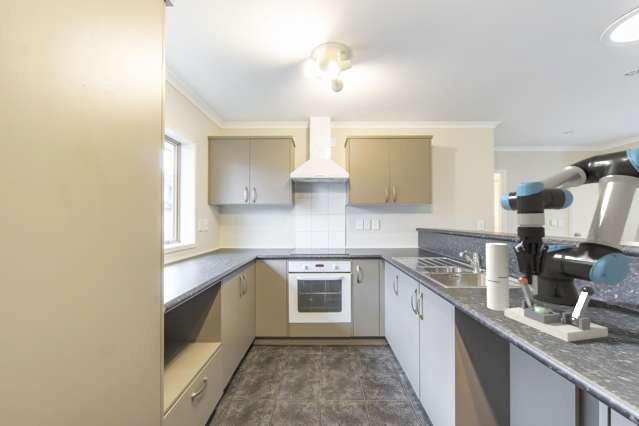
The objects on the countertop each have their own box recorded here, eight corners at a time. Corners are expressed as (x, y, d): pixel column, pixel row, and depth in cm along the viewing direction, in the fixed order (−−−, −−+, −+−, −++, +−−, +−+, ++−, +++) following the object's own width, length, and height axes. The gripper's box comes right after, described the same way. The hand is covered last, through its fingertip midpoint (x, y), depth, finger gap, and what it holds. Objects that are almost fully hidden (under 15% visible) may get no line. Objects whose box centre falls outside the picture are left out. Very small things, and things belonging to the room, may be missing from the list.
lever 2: (571, 324, 79) (586, 287, 81) (583, 328, 77) (598, 290, 78) (565, 320, 79) (580, 283, 80) (576, 324, 76) (592, 286, 78)
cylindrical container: (513, 311, 97) (511, 244, 97) (492, 310, 98) (490, 244, 98) (503, 305, 104) (502, 242, 104) (484, 304, 105) (482, 242, 105)
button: (540, 315, 86) (540, 306, 86) (552, 319, 82) (552, 310, 82) (531, 316, 85) (531, 307, 85) (543, 320, 81) (543, 310, 81)
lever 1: (532, 306, 92) (520, 274, 92) (540, 309, 90) (528, 276, 89) (526, 310, 92) (514, 277, 91) (534, 313, 89) (522, 279, 88)
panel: (538, 312, 96) (538, 296, 96) (607, 336, 76) (607, 316, 76) (504, 315, 93) (504, 299, 93) (567, 341, 73) (567, 321, 74)
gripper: (534, 225, 96) (536, 289, 96) (505, 226, 94) (506, 291, 93) (557, 226, 89) (558, 295, 88) (525, 226, 86) (527, 298, 86)
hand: (532, 293), depth 91 cm, fingers closed
